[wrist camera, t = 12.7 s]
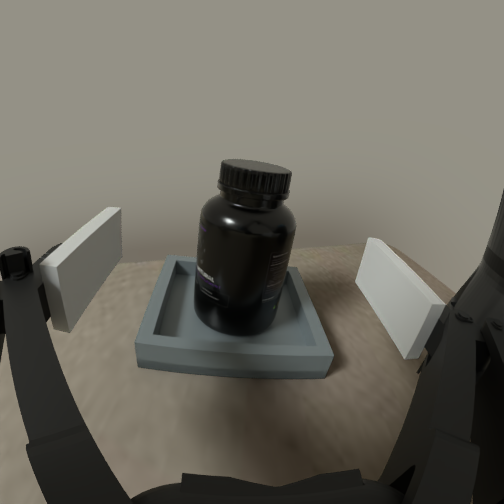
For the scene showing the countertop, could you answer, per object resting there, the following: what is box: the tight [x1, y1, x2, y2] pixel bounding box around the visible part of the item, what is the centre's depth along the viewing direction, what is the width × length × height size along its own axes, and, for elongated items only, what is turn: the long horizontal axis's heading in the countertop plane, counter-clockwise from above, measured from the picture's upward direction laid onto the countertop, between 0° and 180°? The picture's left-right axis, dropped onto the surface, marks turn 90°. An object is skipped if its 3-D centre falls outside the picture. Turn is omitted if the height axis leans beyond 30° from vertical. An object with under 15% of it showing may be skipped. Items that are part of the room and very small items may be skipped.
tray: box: [135, 255, 334, 379], centre depth 25 cm, size 13×13×2 cm
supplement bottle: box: [194, 159, 296, 336], centre depth 22 cm, size 7×7×12 cm
